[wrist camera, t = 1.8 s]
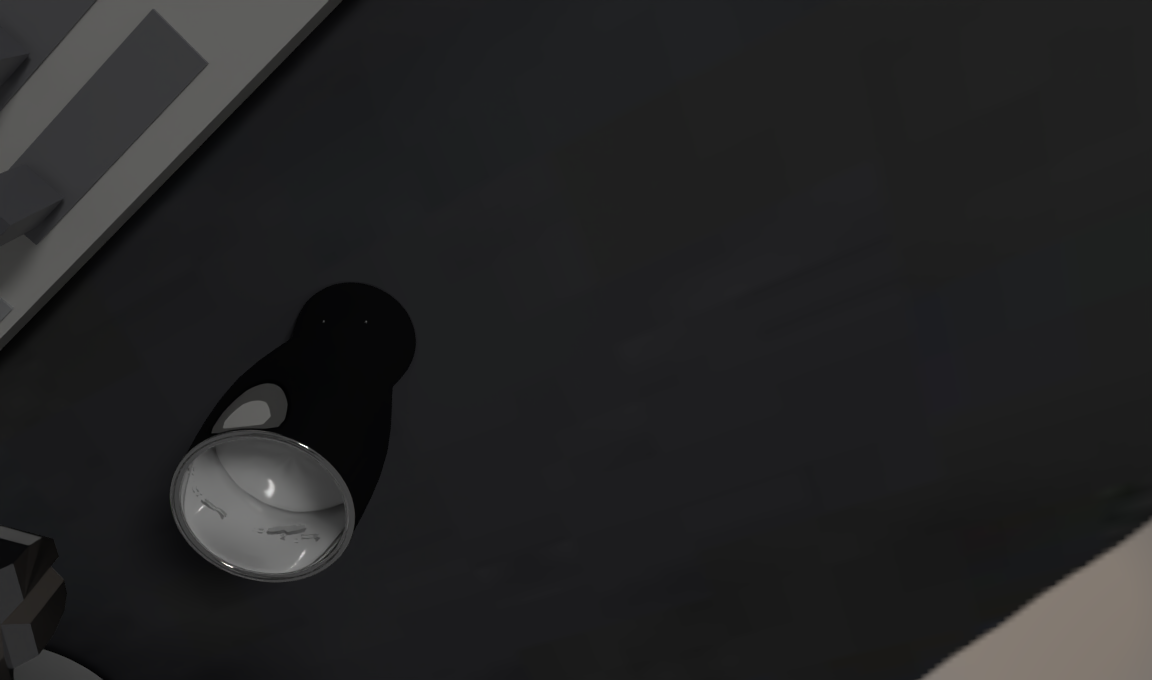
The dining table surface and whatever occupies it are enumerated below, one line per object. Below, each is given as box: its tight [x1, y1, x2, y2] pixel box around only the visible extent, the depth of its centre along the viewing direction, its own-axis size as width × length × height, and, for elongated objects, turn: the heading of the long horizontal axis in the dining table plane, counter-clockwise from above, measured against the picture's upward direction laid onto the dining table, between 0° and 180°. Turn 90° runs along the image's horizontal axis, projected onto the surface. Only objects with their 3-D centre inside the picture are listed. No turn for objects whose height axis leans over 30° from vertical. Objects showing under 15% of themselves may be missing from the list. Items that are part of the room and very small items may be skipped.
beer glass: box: [170, 282, 416, 582], centre depth 38 cm, size 7×7×15 cm
